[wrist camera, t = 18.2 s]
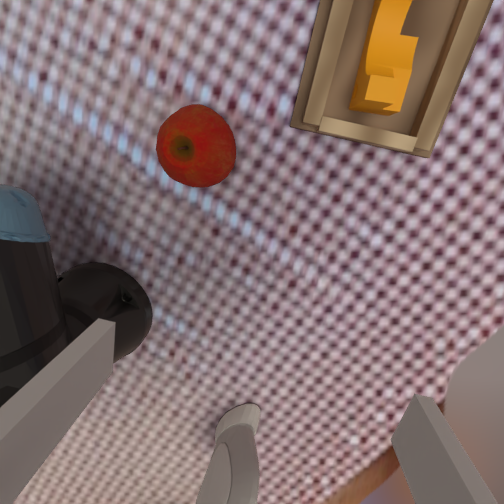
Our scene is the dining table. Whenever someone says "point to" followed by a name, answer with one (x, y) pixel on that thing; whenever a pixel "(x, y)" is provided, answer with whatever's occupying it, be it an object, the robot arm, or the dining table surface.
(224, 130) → the apple
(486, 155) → the dining table surface
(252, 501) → the soap bottle
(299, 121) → the tray
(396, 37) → the orange stepped block
